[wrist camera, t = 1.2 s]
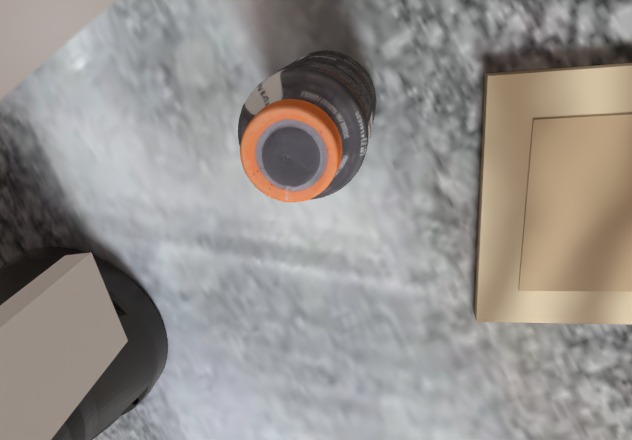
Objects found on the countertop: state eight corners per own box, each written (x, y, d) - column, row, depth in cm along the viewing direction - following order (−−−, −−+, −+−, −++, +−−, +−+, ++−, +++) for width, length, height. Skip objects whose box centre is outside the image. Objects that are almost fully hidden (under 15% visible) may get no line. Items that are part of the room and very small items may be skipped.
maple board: (474, 313, 33) (476, 322, 32) (484, 73, 27) (487, 76, 26) (739, 316, 30) (750, 327, 29) (821, 48, 24) (839, 50, 23)
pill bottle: (264, 71, 29) (189, 108, 19) (358, 33, 27) (332, 52, 17) (300, 162, 31) (250, 241, 21) (390, 132, 29) (383, 203, 19)
